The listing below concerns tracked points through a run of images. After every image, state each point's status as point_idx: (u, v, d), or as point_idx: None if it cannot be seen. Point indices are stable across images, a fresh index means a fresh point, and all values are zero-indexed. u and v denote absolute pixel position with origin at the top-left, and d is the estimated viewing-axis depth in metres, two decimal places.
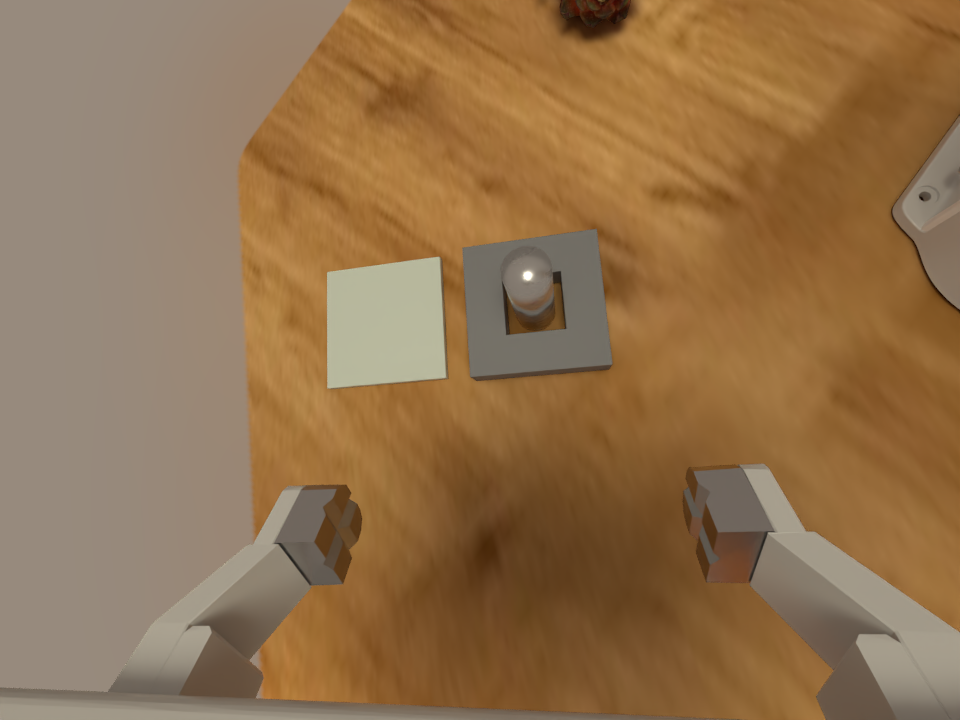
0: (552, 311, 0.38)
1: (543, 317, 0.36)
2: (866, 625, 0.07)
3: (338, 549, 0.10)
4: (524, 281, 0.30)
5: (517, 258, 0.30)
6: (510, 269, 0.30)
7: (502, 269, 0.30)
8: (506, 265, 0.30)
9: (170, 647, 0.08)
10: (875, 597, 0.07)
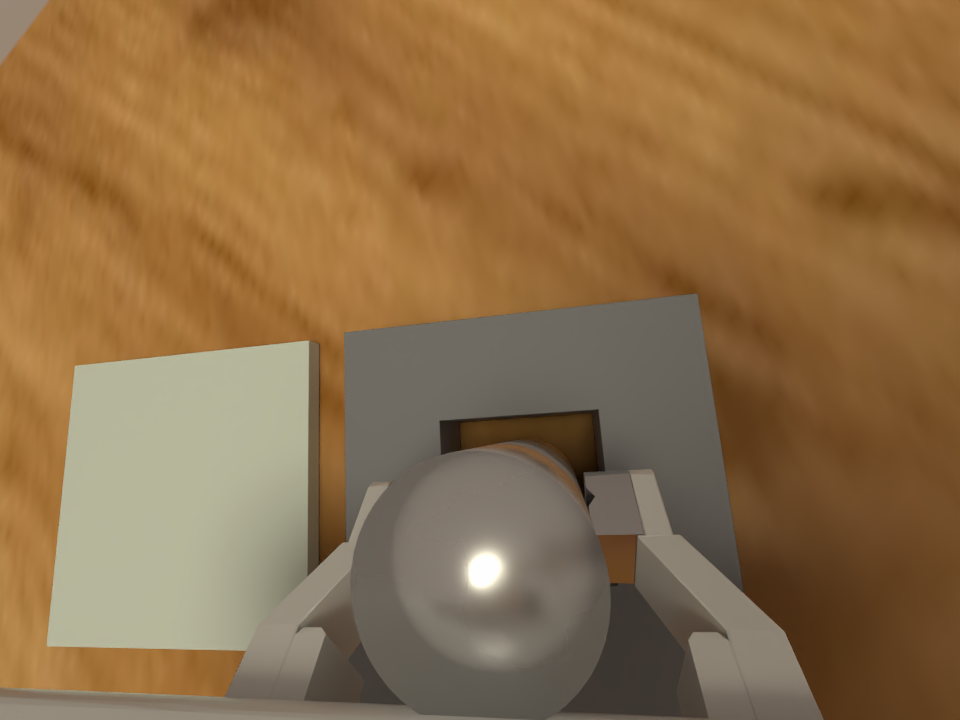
0: None
1: None
2: (708, 624, 0.07)
3: None
4: (463, 649, 0.06)
5: (433, 514, 0.06)
6: (399, 568, 0.06)
7: (360, 565, 0.06)
8: (380, 546, 0.06)
9: (283, 650, 0.07)
10: (716, 597, 0.07)
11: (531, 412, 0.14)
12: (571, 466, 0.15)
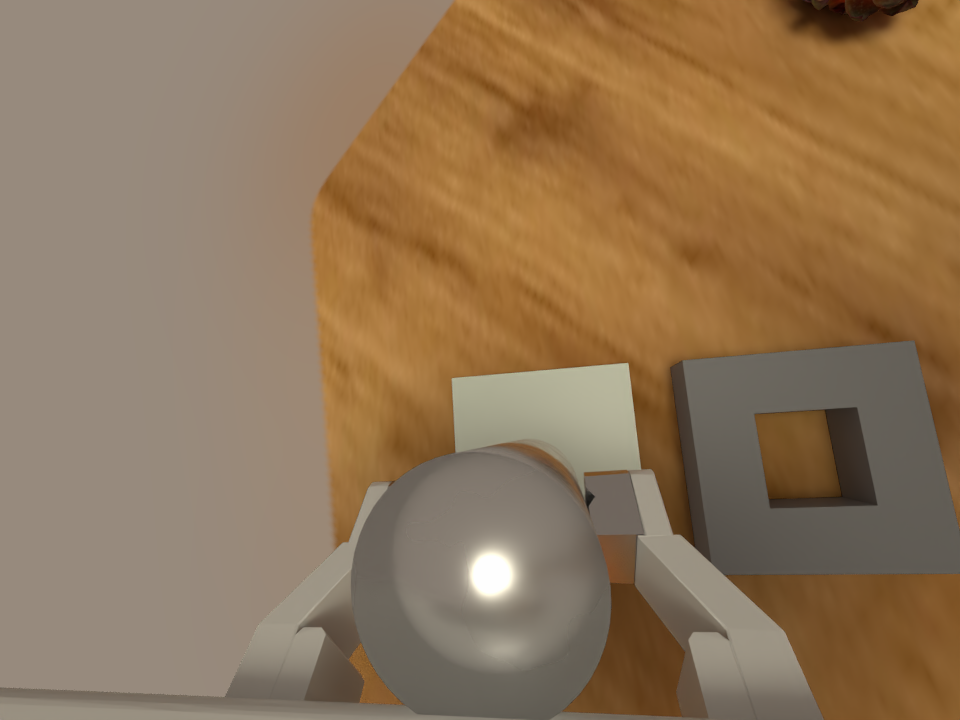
0: None
1: None
2: (708, 624, 0.07)
3: None
4: (464, 650, 0.06)
5: (433, 515, 0.06)
6: (399, 569, 0.06)
7: (360, 567, 0.06)
8: (380, 547, 0.06)
9: (284, 649, 0.07)
10: (717, 597, 0.07)
11: (814, 408, 0.24)
12: (571, 467, 0.15)
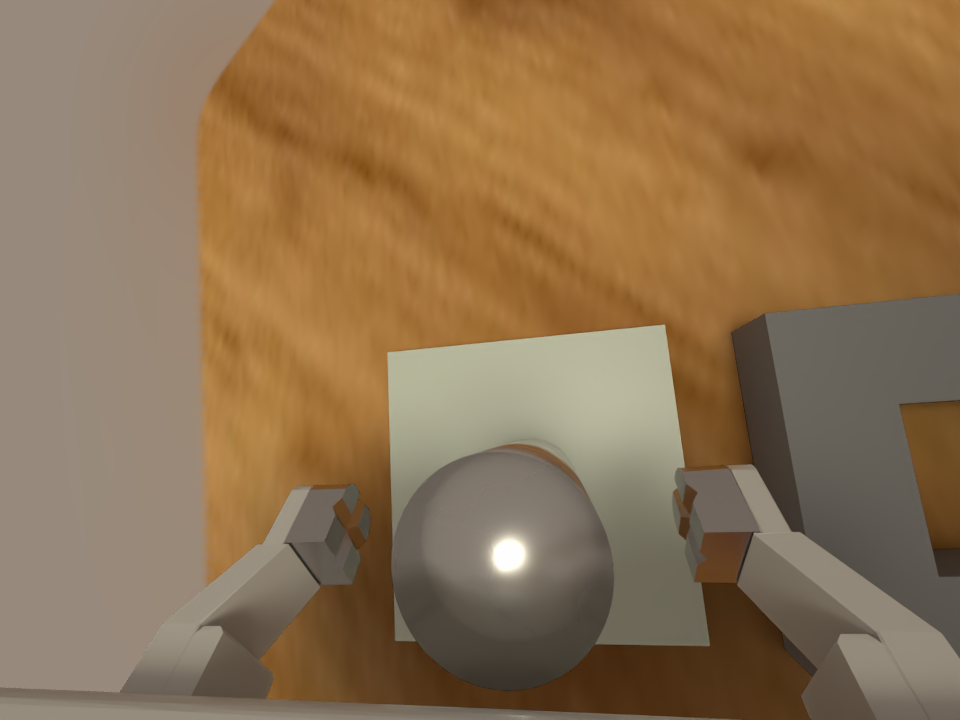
0: None
1: None
2: (847, 625, 0.07)
3: (347, 549, 0.10)
4: (490, 619, 0.07)
5: (462, 506, 0.07)
6: (433, 552, 0.07)
7: (399, 550, 0.07)
8: (416, 533, 0.07)
9: (182, 647, 0.08)
10: (857, 597, 0.07)
11: None
12: None
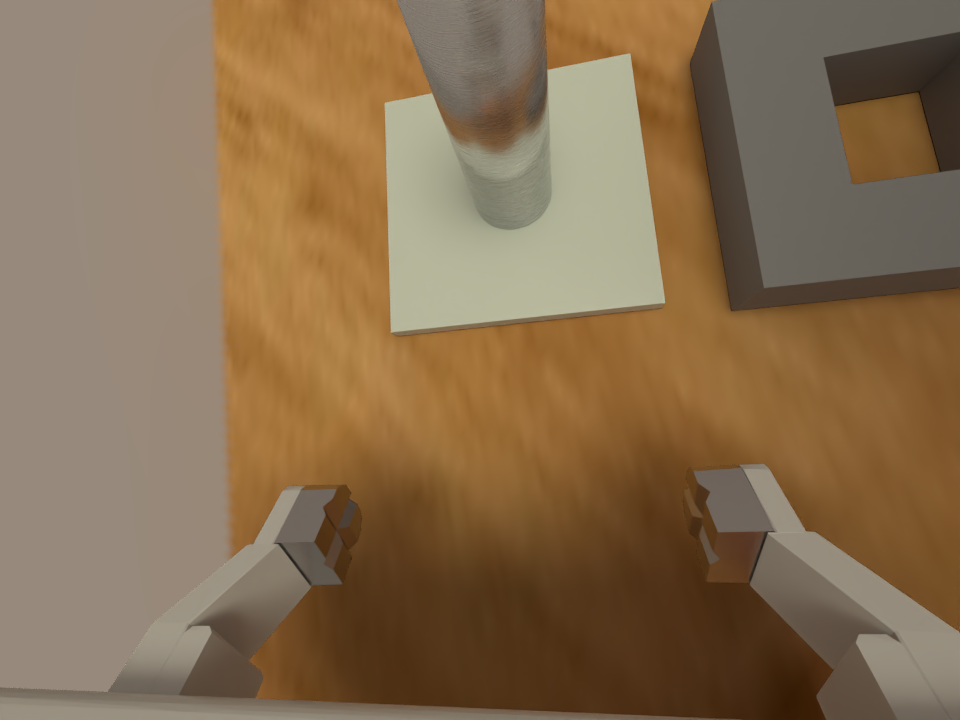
0: (546, 168, 0.17)
1: (525, 173, 0.16)
2: (866, 625, 0.07)
3: (338, 549, 0.10)
4: None
5: None
6: None
7: None
8: None
9: (170, 647, 0.08)
10: (875, 597, 0.07)
11: (918, 37, 0.16)
12: None
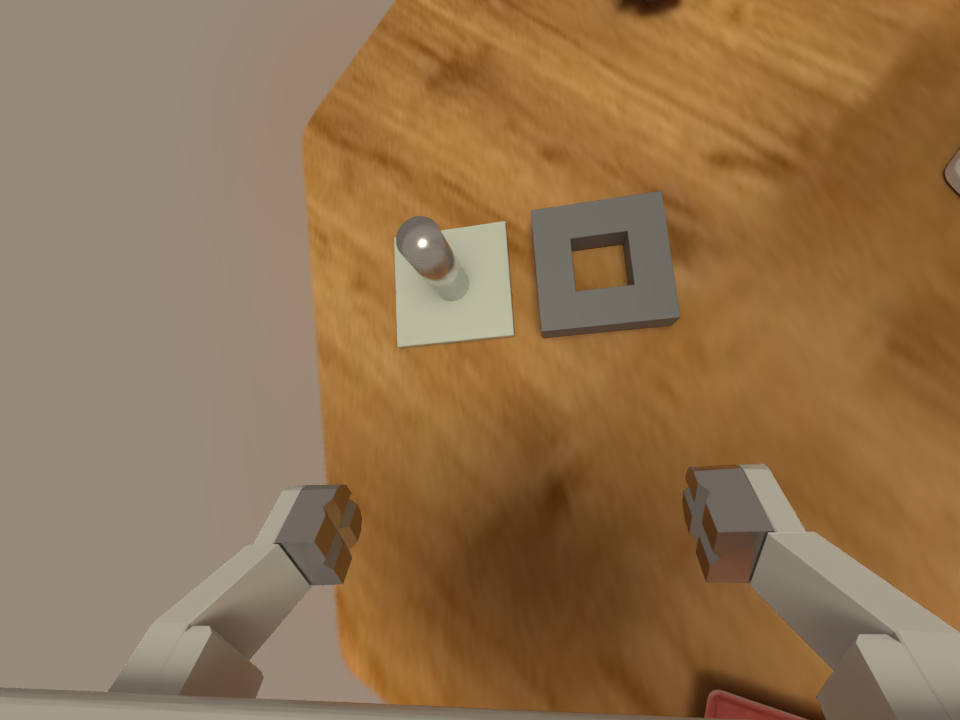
0: (461, 281, 0.41)
1: (450, 286, 0.40)
2: (865, 625, 0.07)
3: (338, 549, 0.10)
4: (415, 247, 0.34)
5: (410, 227, 0.34)
6: (404, 237, 0.34)
7: (397, 237, 0.34)
8: (401, 233, 0.34)
9: (170, 647, 0.08)
10: (875, 597, 0.07)
11: (603, 233, 0.40)
12: None
